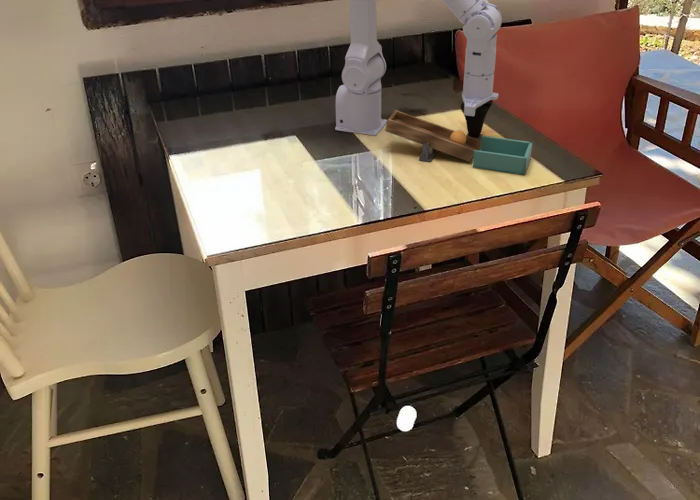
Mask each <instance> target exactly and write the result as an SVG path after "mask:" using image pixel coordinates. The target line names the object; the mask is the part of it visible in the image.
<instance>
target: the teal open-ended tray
mask: <svg viewBox="0 0 700 500" xmlns="http://www.w3.org/2000/svg"><path fill="white" fill-rule="evenodd" d="M533 144H534V143H533V141H527V140H519V139H511V138H505V137H504V138H503V137H497V136H489V135H484V134H482V138H481V142H480V150H478V149H476V150H474V155H473V157H472V159H473V161H472V168H473V169H481V170H488V171H495V172H502V173H508V174H513V175H522V176H525V175H526V172H527V170H528V167H529V164H530V161H531V159H532V151H533Z"/></svg>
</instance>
